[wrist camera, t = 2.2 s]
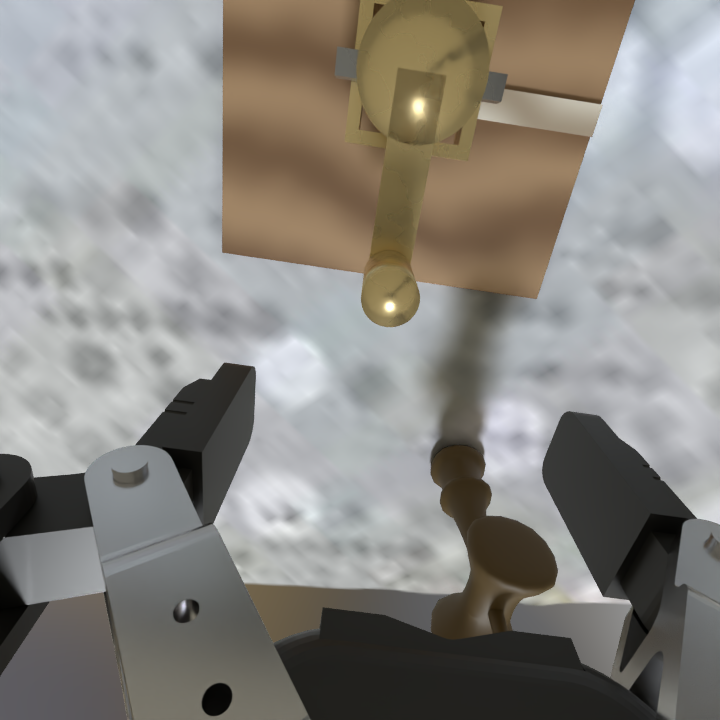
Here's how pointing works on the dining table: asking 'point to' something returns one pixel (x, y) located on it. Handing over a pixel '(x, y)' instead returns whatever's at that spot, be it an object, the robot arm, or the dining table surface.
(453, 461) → the kendama
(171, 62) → the dining table surface
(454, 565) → the dining table surface
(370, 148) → the post base
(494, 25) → the gold piece
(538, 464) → the dining table surface
